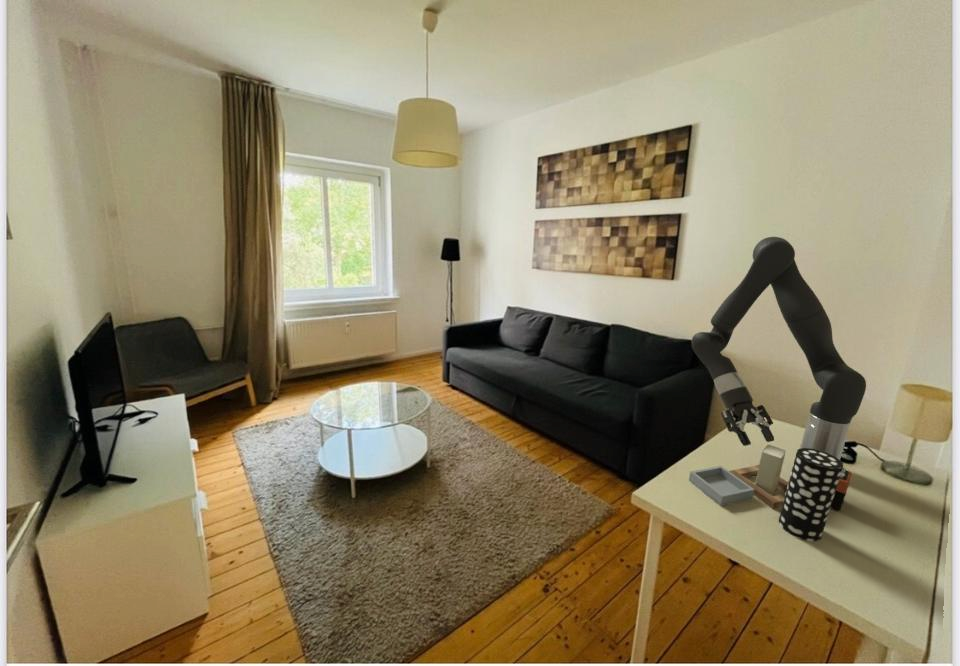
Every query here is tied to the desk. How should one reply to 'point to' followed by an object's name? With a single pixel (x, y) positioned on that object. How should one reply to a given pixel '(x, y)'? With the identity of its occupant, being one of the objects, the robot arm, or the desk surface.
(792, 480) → the white-spotted black cylinder
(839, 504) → the battery
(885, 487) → the desk surface
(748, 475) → the brown flat rectangular frame
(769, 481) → the skincare box
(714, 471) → the tray
